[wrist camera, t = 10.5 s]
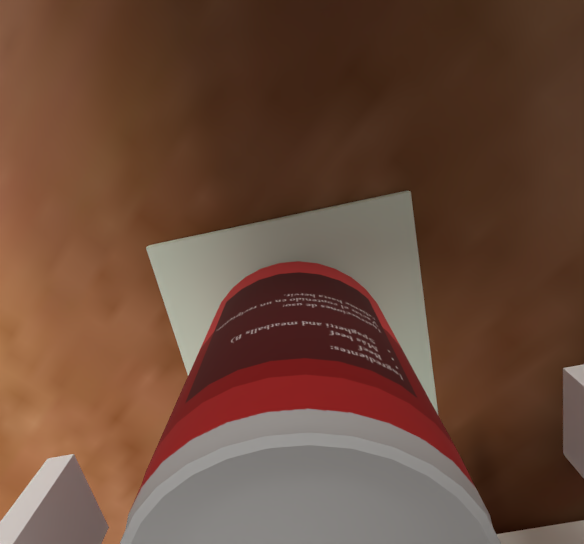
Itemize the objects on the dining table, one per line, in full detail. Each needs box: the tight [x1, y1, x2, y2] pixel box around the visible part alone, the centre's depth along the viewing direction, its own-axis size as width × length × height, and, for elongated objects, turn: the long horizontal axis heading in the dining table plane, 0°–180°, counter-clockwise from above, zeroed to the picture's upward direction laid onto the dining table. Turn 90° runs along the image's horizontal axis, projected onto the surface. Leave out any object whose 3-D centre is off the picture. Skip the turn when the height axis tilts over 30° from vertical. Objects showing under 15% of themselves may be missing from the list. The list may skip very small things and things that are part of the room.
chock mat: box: [146, 190, 438, 414], centre depth 19 cm, size 11×11×1 cm
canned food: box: [120, 261, 501, 544], centre depth 13 cm, size 8×8×11 cm
